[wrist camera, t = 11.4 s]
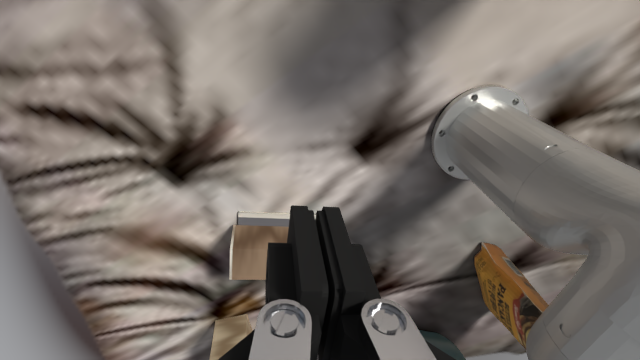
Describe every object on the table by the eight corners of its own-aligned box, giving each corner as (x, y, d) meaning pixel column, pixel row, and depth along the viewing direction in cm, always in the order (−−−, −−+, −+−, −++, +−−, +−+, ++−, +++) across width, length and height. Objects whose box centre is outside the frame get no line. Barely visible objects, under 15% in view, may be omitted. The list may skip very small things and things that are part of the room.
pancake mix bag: (507, 224, 55) (696, 415, 31) (520, 302, 65) (673, 495, 40) (465, 240, 56) (618, 441, 32) (484, 315, 65) (614, 514, 41)
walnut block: (233, 224, 49) (306, 227, 50) (232, 254, 51) (303, 255, 53) (229, 248, 44) (310, 250, 46) (229, 279, 47) (306, 280, 48)
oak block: (246, 314, 58) (244, 353, 51) (253, 334, 60) (252, 374, 54) (215, 320, 57) (209, 360, 51) (223, 340, 60) (218, 381, 54)
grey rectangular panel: (330, 214, 50) (331, 216, 50) (322, 264, 55) (322, 266, 54) (238, 211, 48) (238, 212, 48) (236, 263, 52) (236, 265, 52)
